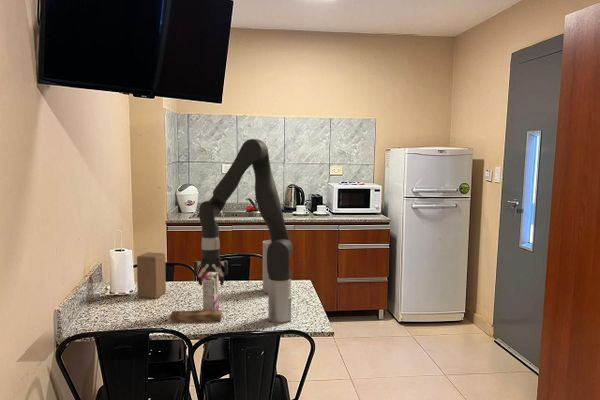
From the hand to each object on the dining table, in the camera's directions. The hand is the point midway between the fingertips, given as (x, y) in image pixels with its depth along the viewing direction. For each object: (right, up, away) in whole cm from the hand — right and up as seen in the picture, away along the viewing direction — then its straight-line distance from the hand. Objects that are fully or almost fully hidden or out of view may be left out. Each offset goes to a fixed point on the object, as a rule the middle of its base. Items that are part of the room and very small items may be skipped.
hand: (211, 285), depth 199 cm
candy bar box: (0, -12, +1) cm, 12 cm away
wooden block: (-33, -10, +24) cm, 42 cm away
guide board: (-5, -13, -8) cm, 16 cm away
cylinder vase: (+26, -10, +34) cm, 43 cm away
